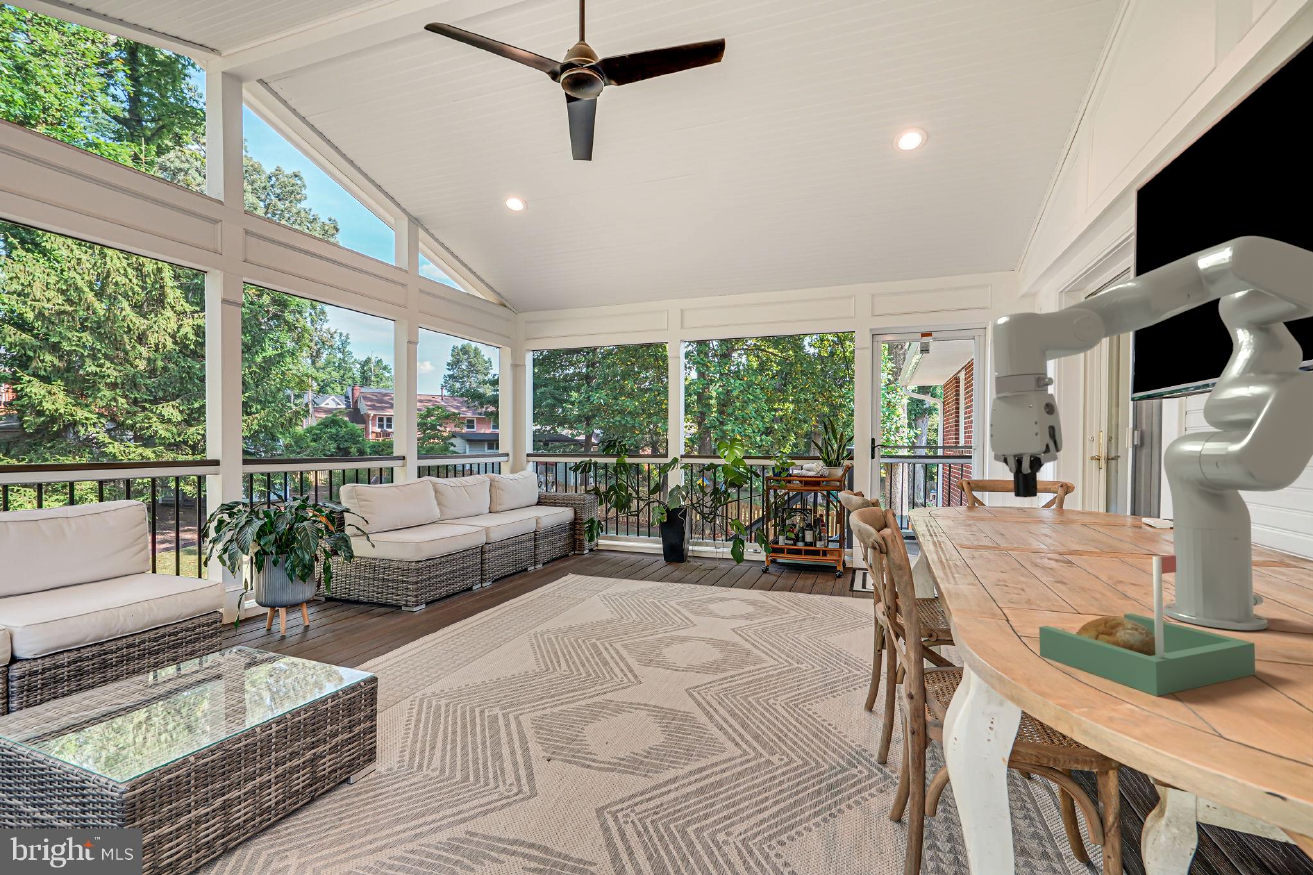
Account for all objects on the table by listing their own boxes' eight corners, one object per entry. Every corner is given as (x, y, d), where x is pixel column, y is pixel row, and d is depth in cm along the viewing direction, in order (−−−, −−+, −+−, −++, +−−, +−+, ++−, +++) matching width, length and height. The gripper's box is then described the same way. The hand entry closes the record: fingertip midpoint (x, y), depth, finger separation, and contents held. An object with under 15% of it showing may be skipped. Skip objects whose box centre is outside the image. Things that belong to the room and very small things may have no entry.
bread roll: (1164, 708, 74) (1197, 654, 72) (1076, 664, 77) (1106, 611, 76) (1133, 679, 83) (1162, 630, 82) (1055, 641, 86) (1082, 593, 85)
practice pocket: (1131, 639, 88) (1128, 534, 89) (1255, 674, 75) (1251, 549, 75) (1039, 655, 82) (1037, 541, 83) (1156, 696, 69) (1153, 559, 69)
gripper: (1081, 382, 93) (1087, 498, 92) (998, 392, 107) (1003, 492, 106) (1047, 382, 90) (1052, 501, 90) (967, 392, 104) (971, 495, 104)
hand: (1025, 496), depth 98 cm, fingers closed
